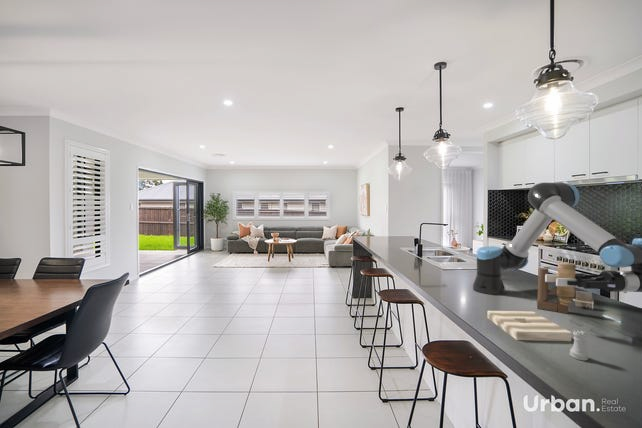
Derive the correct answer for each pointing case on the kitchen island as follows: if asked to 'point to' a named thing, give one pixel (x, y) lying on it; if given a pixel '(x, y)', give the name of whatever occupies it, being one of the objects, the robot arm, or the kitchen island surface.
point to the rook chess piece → (579, 346)
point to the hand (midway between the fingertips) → (551, 280)
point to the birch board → (528, 326)
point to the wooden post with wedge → (543, 295)
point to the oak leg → (566, 291)
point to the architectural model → (584, 299)
